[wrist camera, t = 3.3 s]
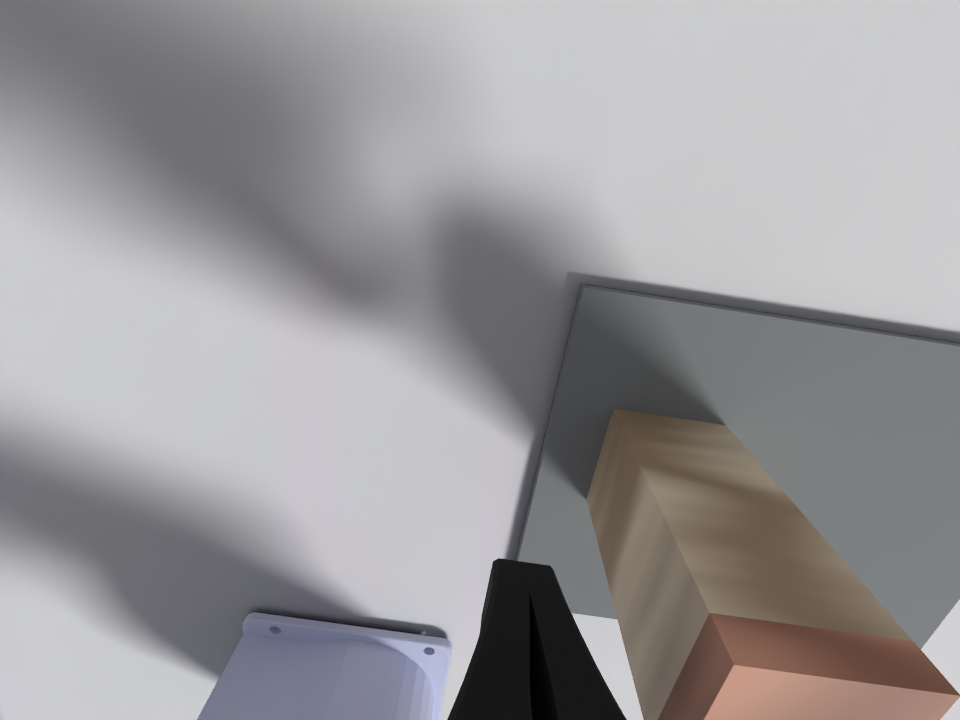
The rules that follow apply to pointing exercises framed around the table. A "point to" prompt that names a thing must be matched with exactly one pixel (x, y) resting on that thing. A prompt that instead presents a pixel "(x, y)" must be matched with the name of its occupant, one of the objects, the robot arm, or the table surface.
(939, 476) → the rubber mat
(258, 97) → the table surface
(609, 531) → the maple block
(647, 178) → the table surface
